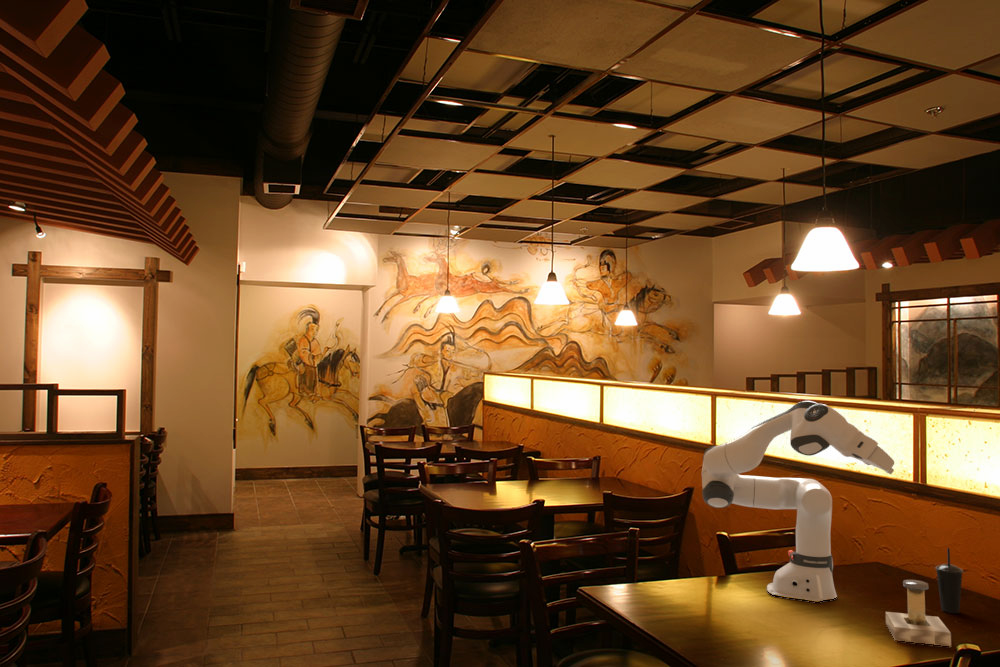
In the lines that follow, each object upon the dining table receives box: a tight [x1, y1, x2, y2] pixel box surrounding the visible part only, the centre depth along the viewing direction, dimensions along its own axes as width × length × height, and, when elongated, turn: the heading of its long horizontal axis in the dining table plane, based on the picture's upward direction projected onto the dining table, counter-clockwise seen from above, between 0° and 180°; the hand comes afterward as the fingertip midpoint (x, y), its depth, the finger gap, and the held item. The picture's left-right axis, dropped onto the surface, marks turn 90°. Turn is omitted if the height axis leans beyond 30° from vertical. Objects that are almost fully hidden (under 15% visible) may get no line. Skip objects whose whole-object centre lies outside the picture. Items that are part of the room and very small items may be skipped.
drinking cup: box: [935, 547, 964, 614], centre depth 230 cm, size 8×8×20 cm
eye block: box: [885, 611, 952, 648], centre depth 208 cm, size 14×14×4 cm
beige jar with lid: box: [902, 579, 929, 626], centre depth 209 cm, size 6×6×15 cm
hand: (880, 467), depth 220 cm, fingers open, 8 cm apart
